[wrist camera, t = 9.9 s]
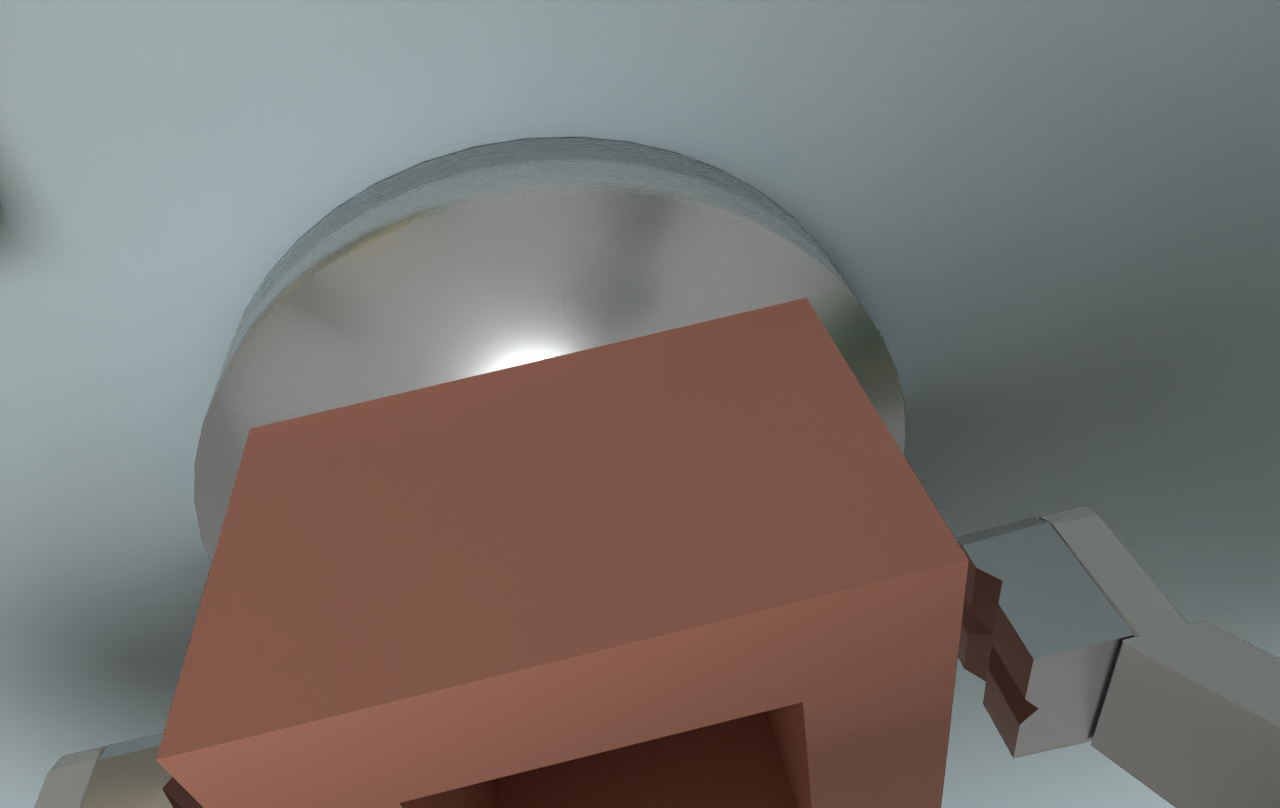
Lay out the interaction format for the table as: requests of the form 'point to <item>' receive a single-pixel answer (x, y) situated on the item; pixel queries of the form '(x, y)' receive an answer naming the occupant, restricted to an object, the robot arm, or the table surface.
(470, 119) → the table surface
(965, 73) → the table surface
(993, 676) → the robot arm
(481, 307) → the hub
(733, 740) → the brown square ring block
